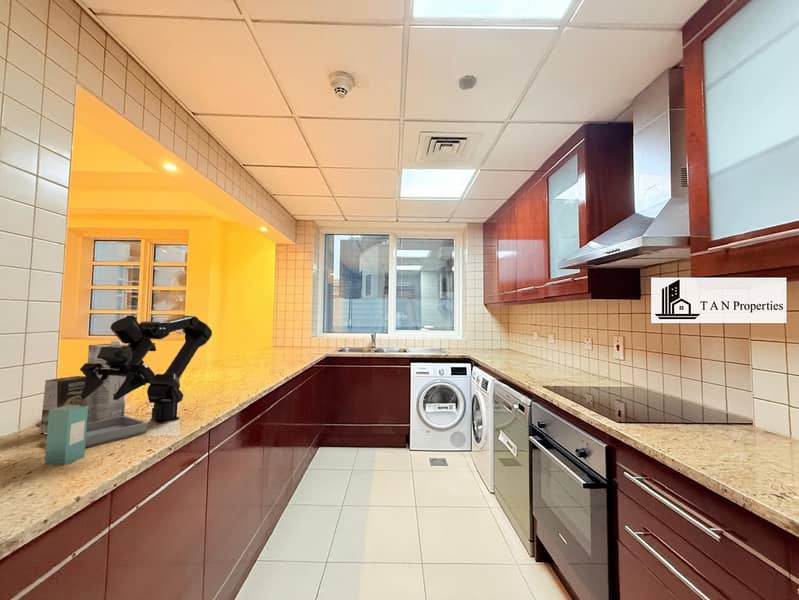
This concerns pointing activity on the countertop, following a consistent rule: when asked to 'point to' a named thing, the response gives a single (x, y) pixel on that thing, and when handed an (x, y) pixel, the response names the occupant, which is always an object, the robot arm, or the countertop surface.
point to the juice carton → (105, 389)
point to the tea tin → (66, 434)
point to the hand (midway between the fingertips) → (98, 398)
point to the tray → (113, 430)
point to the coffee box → (62, 396)
